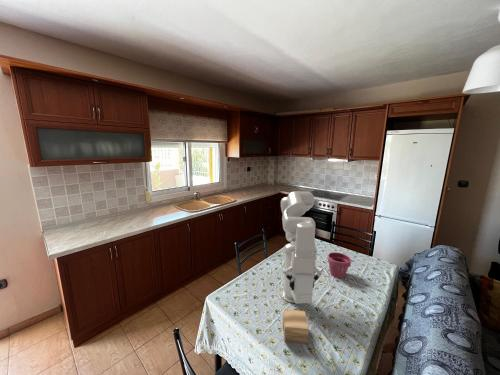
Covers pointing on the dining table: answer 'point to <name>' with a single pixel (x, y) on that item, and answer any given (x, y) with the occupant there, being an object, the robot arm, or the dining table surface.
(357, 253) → the dining table surface
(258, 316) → the dining table surface
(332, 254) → the plant pot
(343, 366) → the dining table surface
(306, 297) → the supplement box
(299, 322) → the tower top
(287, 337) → the tower base
